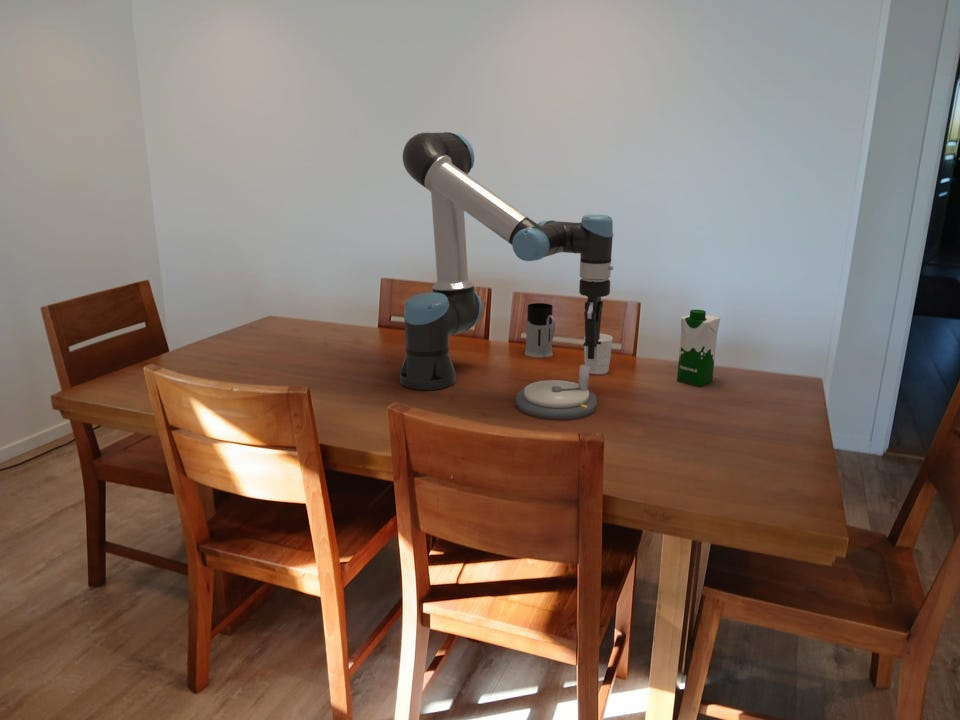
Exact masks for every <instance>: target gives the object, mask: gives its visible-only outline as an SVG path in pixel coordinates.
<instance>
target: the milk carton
mask: <svg viewBox="0 0 960 720" xmlns="http://www.w3.org/2000/svg"><path fill="white" fill-rule="evenodd" d="M720 321H721V317H719V316H715V315H714V316H713V315H707V311H706V310H703V309H690V310H689V314H687V315H684V316H682V317H680V326H681V327H680V331H681V332H680V342H679V353H678V364H677V374H676V375H677V376H676V378H677V379H676V381H677V382H678V383H679V382H680V383H684V384H688V385H692V386H696V387H698V388H701V387H703V386H705V385H707V384H708V383H710V382H712V381H713V377H714V369H715V368H714V367H715V366H714V365H715V357H716V348H717V340H718V339H717V338H718V333H719V327H720Z"/></svg>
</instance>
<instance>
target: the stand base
mask: <svg viewBox="0 0 960 720" xmlns="http://www.w3.org/2000/svg"><path fill="white" fill-rule="evenodd" d="M524 389H525V387H524V388H522V389H520V390H519V391H518V392H517V393H516V395H515V407H516V408H517V409H518V410H519V411H520V412H522V413H524V414H526V415H528V416H530V417H535V418H539V419H543V420H544V419H545V420H556V421H566V420H568V421H569V420H577V419H581V418H584V417H588V416H589V415H592V414H593V413H594V412H596V410H597V405H598V398H597V395H596V394H594V393H593V392H592V391H590V390H589V399H588V401H587V402H586V403H584V404H582V405H580V406H576V407H570V408H550V407H543V406H539V405H535V404H533V403H530V402H529V401H527V400H526V399H525V397H524Z"/></svg>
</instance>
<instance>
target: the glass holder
mask: <svg viewBox="0 0 960 720" xmlns="http://www.w3.org/2000/svg"><path fill="white" fill-rule="evenodd" d="M553 307H554V306H553V304H550V303H543V302H537V303H536V302H534V303H529V304H527V317H526V337H525V345H526V346H525V351H524V355H525V356H527V357H529V356H530V358H538V359H543V358H544V357H545V358H550V357H552V356H553V355H554V353H553V340H554V336H555V332H556V331H555V330H556V320H555V317H554V316H553Z"/></svg>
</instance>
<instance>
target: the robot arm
mask: <svg viewBox="0 0 960 720" xmlns="http://www.w3.org/2000/svg"><path fill="white" fill-rule="evenodd" d="M402 163H403V167H404V168H405V171H406V172H407V174H408V175H409V176H410V177H411V178H412V179H413V180H414V181H416V182H417V183H418V184H419V185H421V186H422V187H424V188H425V189H426V190H428V191H429V192H430V195H431V197H430V198H431V210H432V211H431V212H432V223H433V225H432V226H433V237H434V238H433V240H434V253H435V266H436V267H435V268H436V269H435V270H436V282H435V283H434V284H433V285H432V292H424V293H419V294H418V293H417V294H414V295H412V296H410V297H409V298H408V299H407V300H406V301H405V303H404V312H403V319H404V344H405V347H404V348H405V355H404V357H403V362H402V366H401V370H400V373H399V383H400V385H402V386H403V387H405V388H407V389H412V390H419V391H435V390H441V389H445V388H448V387H451V386H453V385H454V384H455V383H456V371H455V368H454V364H453V362H452V359H451V356H450V347H449V346H450V341H449V338H451V337H452V336H456V335H458V334H460V333H465V332H467V331H469V330H470V329H472V327H474V326H475V325H477V324H478V323H479V321H480V320H481V317H482V315H483V307H484V306H483V301H482V298H481V297H480V295H478V292H477V291H475V284H474V282H472V281H471V280H470V279H469V274H468V272H469V271H468V256H467V239H466V237H467V236H466V223H465V222H466V219H465V212H466V213H467V214H469V216H471V217H472V218H474V219H475V220H476V221H478V222H479V223H481V224H482V225H484V226H485V227H486V228H487V229H489V230H491V231H492V232H493V233H495V234H496V235H498V236H499V237H500V238H502V239H503V240H504V241H505V242H507V243H509V244H510V245H511V246H512V250H513V252H514V254H515V256H516V257H517V258H518V259H519V260H522V261H524V262H531V261H539V260H541V259H543V258H547V257H549V256H553V255H556V254H558V253H565V254H566V253H569V254H580V260H579V277H580V280H579V284H578V285H579V286H578V287H579V289H578V293H579V295H581V296H583V297H587V300H586V302H584V310H585V311H584V312H583V315H584V336H585V343H584V342H583V344H582V345H583V347H584V346H586V365H589V370H590V371H596V370H597V358H598V345H597V344H601V341H598V340H599V339H600V334H601V327H602V326H601V325H602V324H601V321H602V314H603V313H602V310H603V307H604V301H603V300H602V298H604V297H607V296H609V295H610V293H611V280H610V278H611V271H613V270H614V266H613V265H611V264H612V255H613V254H612V251H613V240H614V239H613V237H614V233H613V231H614V228H613V227H614V226H613V225H614V223H613V219H612V217H611V216H610V215H608V214H585V215H583V216H582V217H581V221H580V222H569V221H561V220H560V221H557V220H554V219H553V220H541V221H539V222H538V223H537V222H535V221H534V220H532V219H531V218H529V217H528V216H527V215H525V214H524V213H523V212H521V211H519V210H518V209H517V208H515V206H513V205H511V204H510V203H508V202H507V201H506V200H504V199H502V198H501V197H500V196H499V195H497V194H496V193H495V192H493V191H491V190H490V189H488V188H487V187H486V186H484V184H481V183H480V182H478V180H475V179H474V178H473V177H471V176H470V175H468V174H469V173H470V172H471V170H472V169H473V167H474V164H475V153H474V149H473V147H472V145H471V143H470V141H469V140H468V139H467V138H465V137H464V136H463V135H462V134H459V133H455V132H447V131H444V132H419V133H416V134H415V135H413V136H412V137H411V138H410V137H409V139H408V141H407V142H406V143H405V145H404V148H403V149H402Z"/></svg>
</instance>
